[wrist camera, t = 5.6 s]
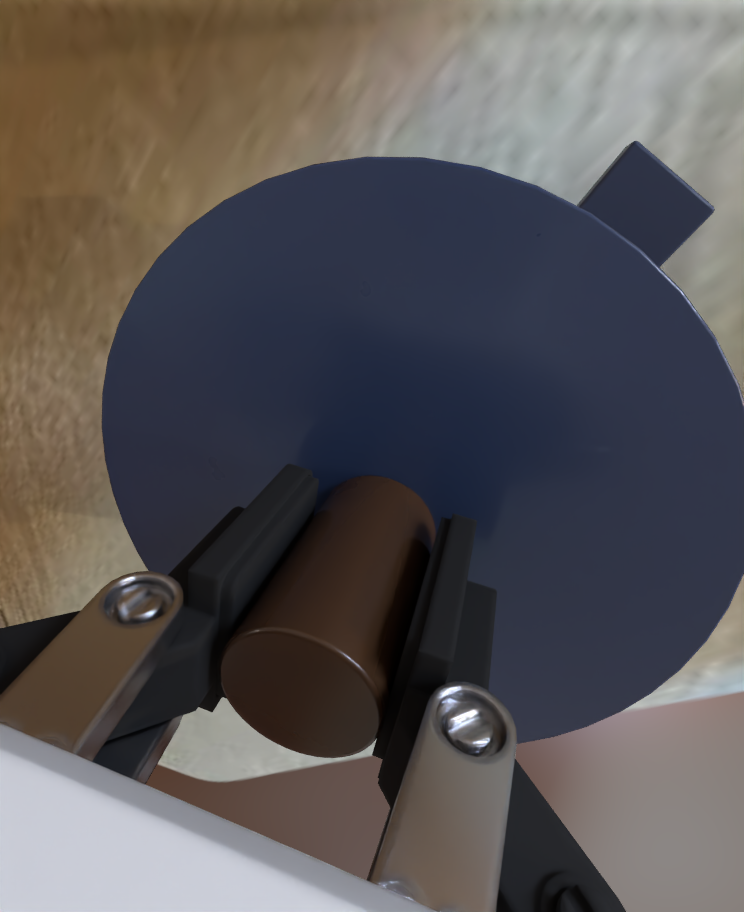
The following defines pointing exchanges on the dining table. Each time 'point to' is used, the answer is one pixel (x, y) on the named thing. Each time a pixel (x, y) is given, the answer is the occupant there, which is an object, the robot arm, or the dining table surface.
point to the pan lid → (433, 438)
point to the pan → (647, 203)
